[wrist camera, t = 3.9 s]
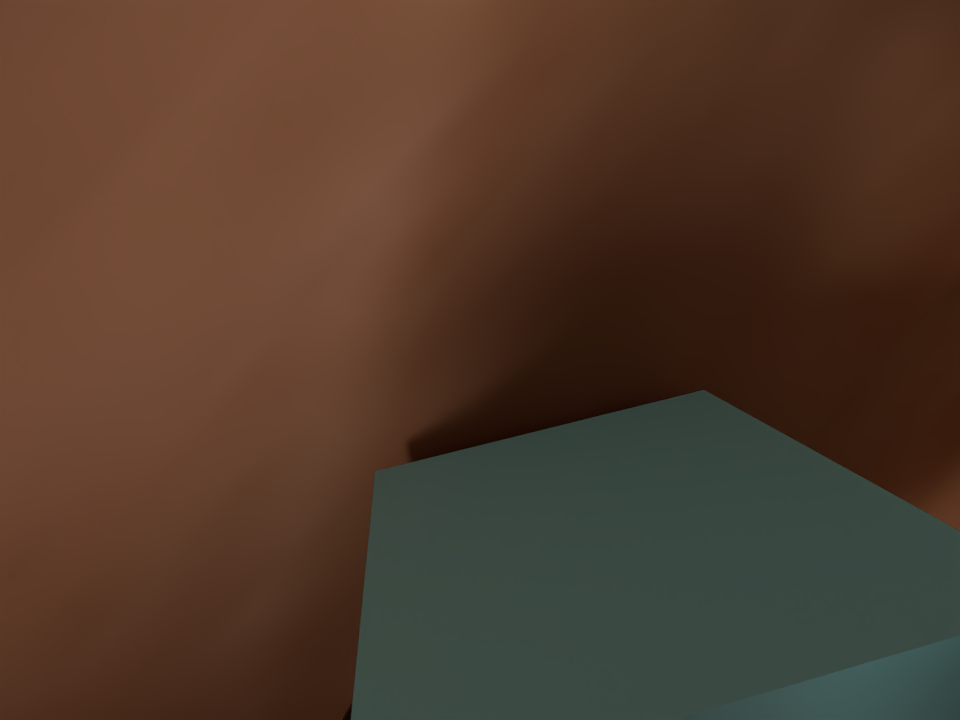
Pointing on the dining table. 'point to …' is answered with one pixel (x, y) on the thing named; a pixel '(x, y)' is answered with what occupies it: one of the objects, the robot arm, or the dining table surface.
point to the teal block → (654, 580)
